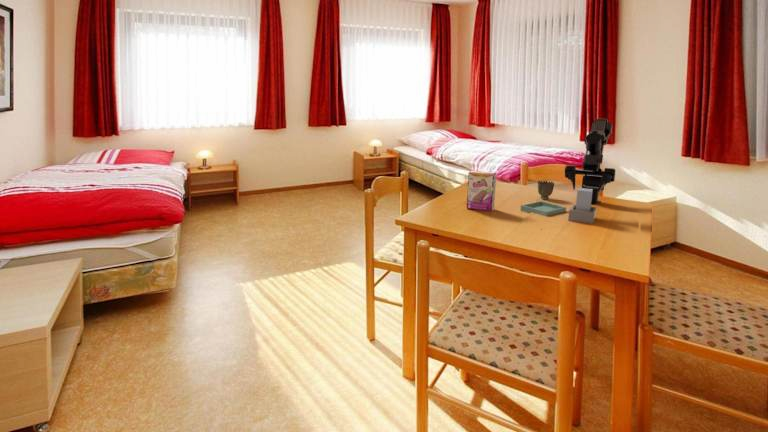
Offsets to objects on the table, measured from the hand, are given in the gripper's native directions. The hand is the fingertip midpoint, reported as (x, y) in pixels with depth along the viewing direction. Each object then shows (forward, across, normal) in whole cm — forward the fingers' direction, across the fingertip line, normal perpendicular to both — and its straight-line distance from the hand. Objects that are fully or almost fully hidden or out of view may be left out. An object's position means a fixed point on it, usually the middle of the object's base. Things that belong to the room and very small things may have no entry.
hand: (586, 190), depth 186 cm
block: (+11, 0, +4) cm, 12 cm away
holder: (+11, 0, +5) cm, 12 cm away
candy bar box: (+12, -41, +4) cm, 43 cm away
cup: (-10, -20, +26) cm, 34 cm away
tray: (+6, -16, +10) cm, 20 cm away
